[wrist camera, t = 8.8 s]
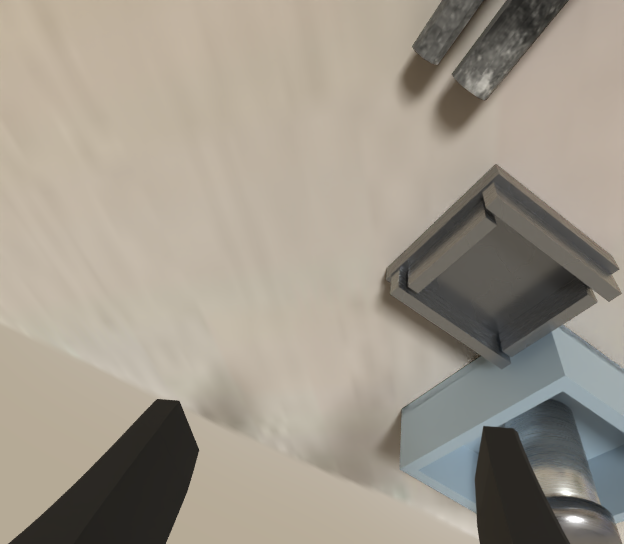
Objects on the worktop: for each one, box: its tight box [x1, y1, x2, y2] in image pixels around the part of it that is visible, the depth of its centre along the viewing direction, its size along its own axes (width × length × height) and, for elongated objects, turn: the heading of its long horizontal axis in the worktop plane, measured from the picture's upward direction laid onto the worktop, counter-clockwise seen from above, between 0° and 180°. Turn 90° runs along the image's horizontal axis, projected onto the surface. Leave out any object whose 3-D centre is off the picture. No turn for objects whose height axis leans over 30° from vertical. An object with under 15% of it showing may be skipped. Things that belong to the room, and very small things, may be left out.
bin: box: [400, 325, 624, 523], centre depth 22 cm, size 9×9×4 cm
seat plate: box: [386, 164, 622, 369], centre depth 18 cm, size 6×6×2 cm
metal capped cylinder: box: [503, 399, 622, 544], centre depth 21 cm, size 4×4×6 cm
